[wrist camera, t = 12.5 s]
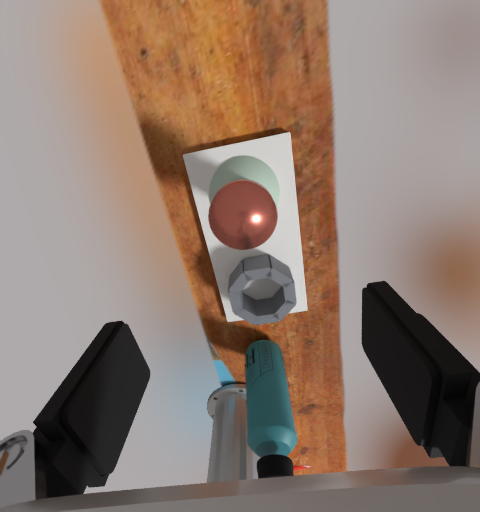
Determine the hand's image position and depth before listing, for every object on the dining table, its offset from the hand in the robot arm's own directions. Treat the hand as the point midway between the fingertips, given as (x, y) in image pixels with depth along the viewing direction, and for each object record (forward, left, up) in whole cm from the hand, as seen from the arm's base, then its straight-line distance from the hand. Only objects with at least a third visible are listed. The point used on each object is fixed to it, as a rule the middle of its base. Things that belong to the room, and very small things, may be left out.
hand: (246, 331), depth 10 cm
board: (-7, -2, -26) cm, 27 cm away
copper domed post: (0, 0, -25) cm, 25 cm away
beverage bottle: (-27, -6, -26) cm, 38 cm away
